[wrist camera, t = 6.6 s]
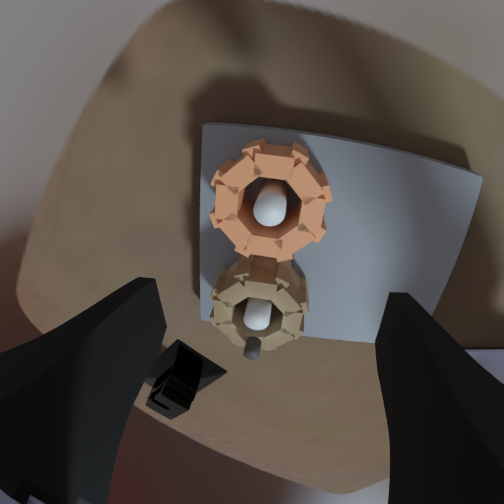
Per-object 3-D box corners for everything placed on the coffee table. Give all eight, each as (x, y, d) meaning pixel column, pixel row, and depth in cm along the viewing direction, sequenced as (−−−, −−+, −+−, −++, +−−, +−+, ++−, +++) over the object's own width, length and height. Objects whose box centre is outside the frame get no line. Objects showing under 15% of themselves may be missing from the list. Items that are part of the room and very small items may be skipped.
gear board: (471, 170, 15) (511, 194, 11) (411, 332, 21) (425, 375, 17) (210, 122, 16) (182, 131, 12) (206, 306, 22) (188, 350, 18)
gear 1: (333, 147, 14) (341, 158, 12) (316, 243, 17) (318, 270, 14) (225, 133, 15) (211, 141, 12) (220, 229, 17) (206, 253, 15)
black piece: (181, 320, 24) (162, 360, 20) (249, 365, 26) (241, 407, 22) (128, 374, 30) (112, 405, 26) (182, 407, 31) (171, 439, 27)
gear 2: (314, 257, 17) (317, 297, 14) (298, 326, 20) (296, 370, 17) (220, 243, 18) (202, 280, 14) (218, 314, 20) (204, 355, 17)
